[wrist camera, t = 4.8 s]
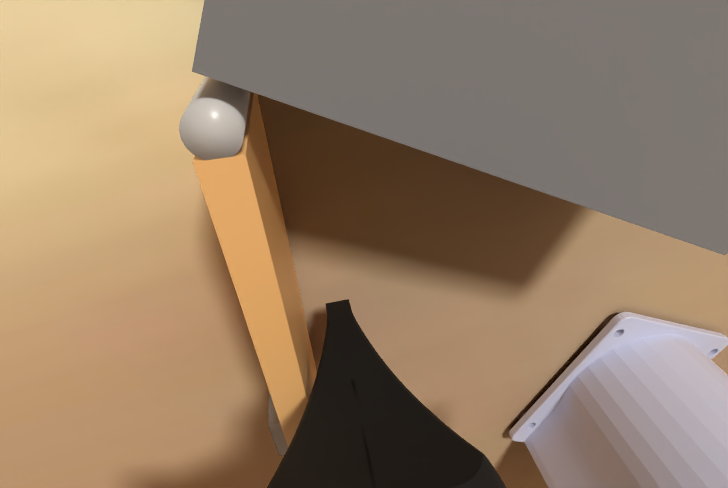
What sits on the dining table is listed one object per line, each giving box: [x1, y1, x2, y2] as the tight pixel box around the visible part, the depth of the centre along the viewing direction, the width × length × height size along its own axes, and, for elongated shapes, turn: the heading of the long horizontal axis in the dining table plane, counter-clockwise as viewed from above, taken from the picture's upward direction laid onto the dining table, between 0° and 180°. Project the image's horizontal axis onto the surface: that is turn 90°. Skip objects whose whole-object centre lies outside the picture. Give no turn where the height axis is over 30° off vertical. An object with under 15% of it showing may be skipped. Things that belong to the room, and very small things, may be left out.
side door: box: [179, 76, 317, 456], centre depth 11 cm, size 2×12×5 cm, turn 4°
